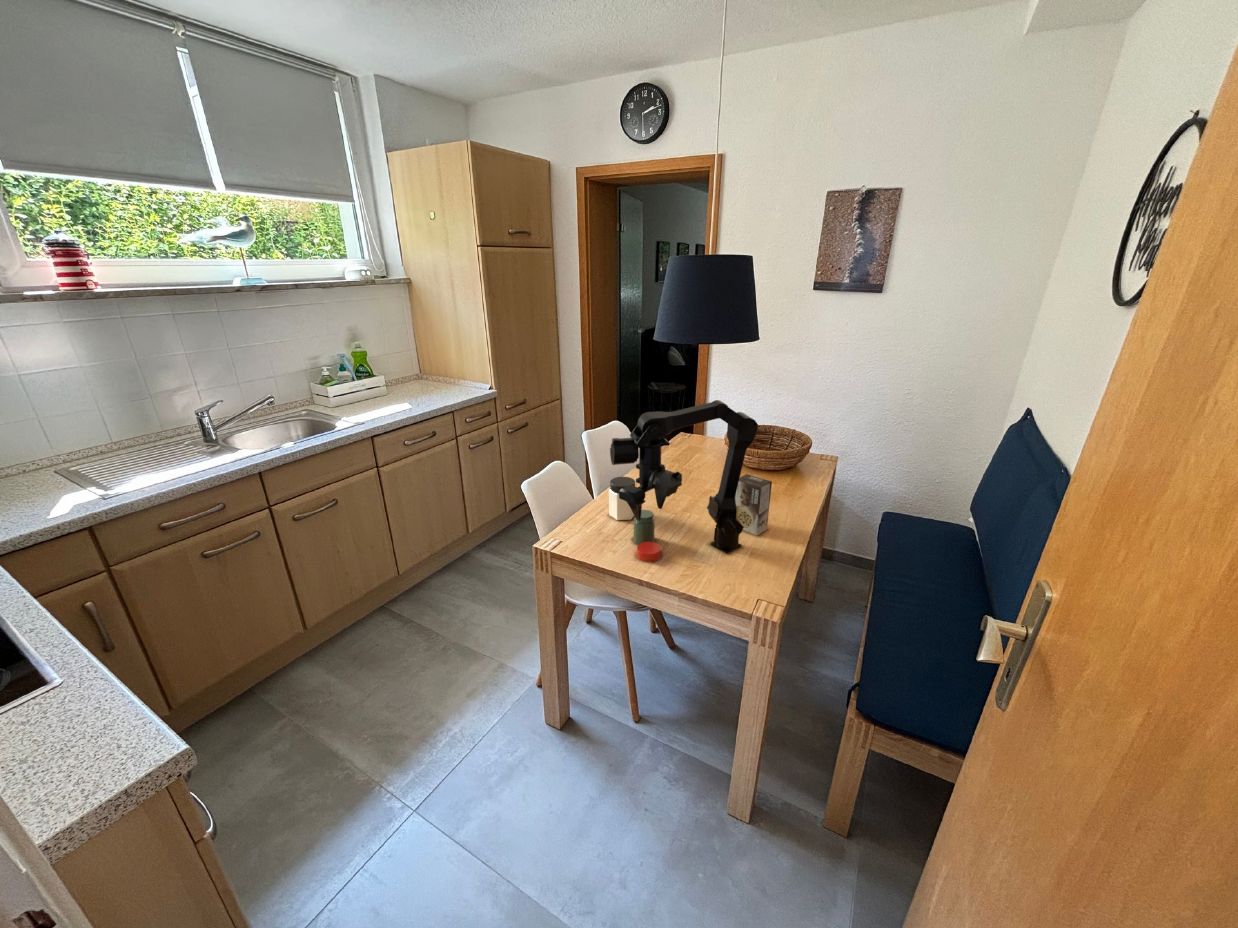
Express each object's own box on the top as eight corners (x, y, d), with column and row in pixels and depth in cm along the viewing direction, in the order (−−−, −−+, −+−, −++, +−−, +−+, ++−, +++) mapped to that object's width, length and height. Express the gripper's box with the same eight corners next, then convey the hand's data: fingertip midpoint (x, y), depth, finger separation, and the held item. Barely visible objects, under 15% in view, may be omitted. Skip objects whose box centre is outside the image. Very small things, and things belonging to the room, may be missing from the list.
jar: (634, 508, 168) (634, 475, 163) (637, 519, 160) (638, 485, 156) (608, 509, 167) (607, 476, 163) (610, 521, 160) (609, 487, 155)
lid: (632, 556, 140) (632, 549, 139) (644, 546, 145) (644, 539, 144) (653, 564, 137) (653, 556, 136) (664, 553, 142) (664, 545, 141)
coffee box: (767, 528, 154) (773, 481, 148) (756, 536, 150) (761, 487, 144) (742, 519, 160) (746, 473, 154) (731, 526, 156) (735, 478, 150)
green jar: (658, 541, 148) (659, 514, 144) (642, 548, 144) (642, 520, 141) (645, 533, 152) (645, 506, 149) (629, 539, 149) (629, 512, 146)
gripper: (651, 480, 119) (650, 537, 125) (696, 459, 131) (693, 511, 137) (617, 468, 126) (617, 522, 132) (663, 449, 138) (661, 499, 144)
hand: (649, 514), depth 136 cm, fingers open, 9 cm apart
